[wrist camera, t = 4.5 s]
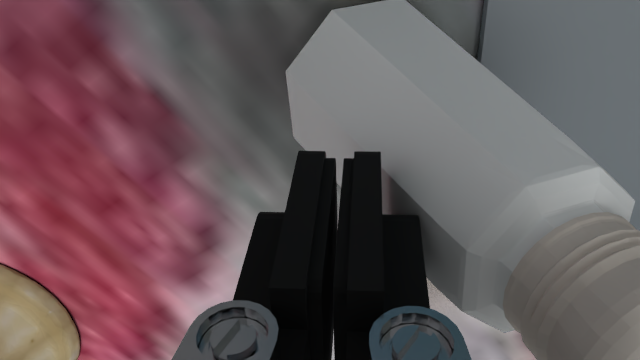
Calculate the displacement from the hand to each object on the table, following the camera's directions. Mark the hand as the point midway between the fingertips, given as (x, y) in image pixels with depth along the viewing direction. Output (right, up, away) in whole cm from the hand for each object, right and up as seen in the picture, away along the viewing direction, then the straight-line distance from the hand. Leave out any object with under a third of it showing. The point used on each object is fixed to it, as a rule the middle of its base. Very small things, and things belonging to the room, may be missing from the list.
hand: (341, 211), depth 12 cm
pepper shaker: (+1, +4, +5) cm, 6 cm away
